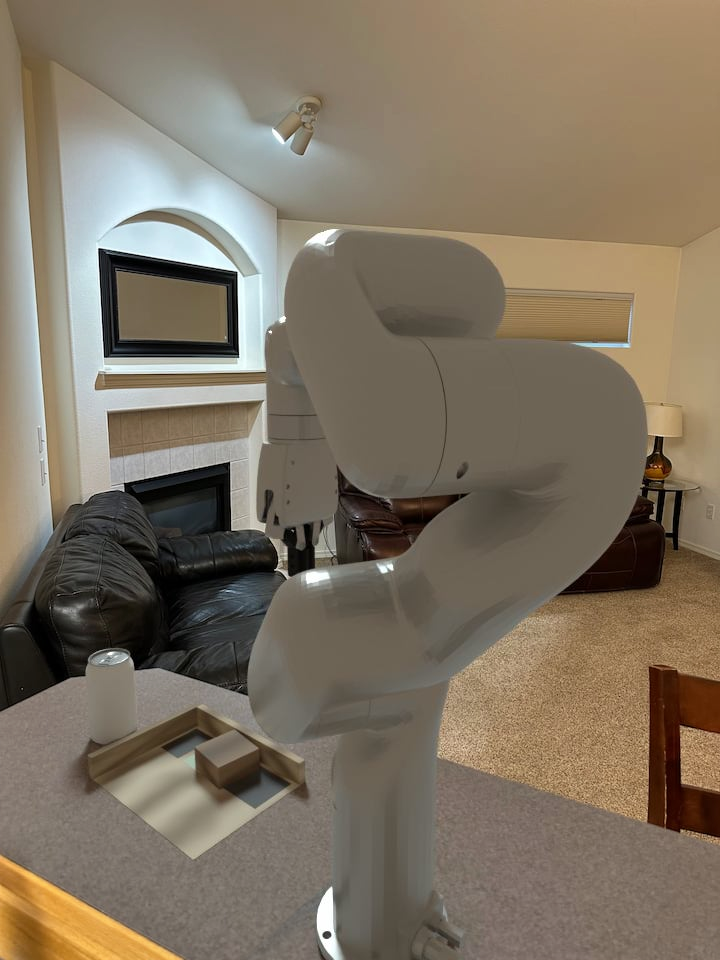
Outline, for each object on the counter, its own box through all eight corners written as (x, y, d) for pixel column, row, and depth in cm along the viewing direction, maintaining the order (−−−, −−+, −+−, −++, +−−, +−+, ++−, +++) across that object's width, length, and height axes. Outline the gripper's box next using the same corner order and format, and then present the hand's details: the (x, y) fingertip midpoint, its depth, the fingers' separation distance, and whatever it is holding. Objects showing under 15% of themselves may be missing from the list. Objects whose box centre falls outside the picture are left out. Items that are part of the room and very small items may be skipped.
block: (259, 769, 83) (259, 748, 83) (219, 789, 79) (218, 767, 79) (235, 749, 88) (234, 729, 87) (195, 767, 84) (194, 746, 83)
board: (305, 788, 81) (305, 759, 80) (193, 868, 68) (191, 834, 67) (199, 726, 95) (198, 701, 94) (89, 783, 82) (87, 754, 81)
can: (145, 722, 96) (140, 647, 94) (125, 748, 90) (120, 668, 87) (104, 720, 97) (98, 645, 94) (81, 745, 90) (75, 666, 88)
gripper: (319, 423, 84) (320, 557, 87) (228, 431, 72) (234, 586, 76) (363, 426, 79) (363, 568, 82) (274, 436, 68) (278, 601, 71)
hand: (301, 576), depth 79 cm, fingers closed
